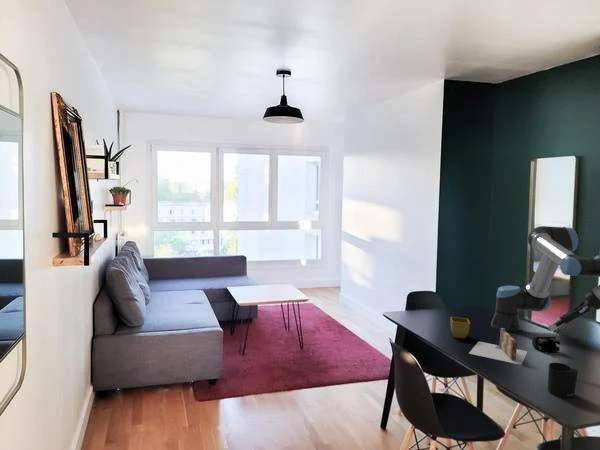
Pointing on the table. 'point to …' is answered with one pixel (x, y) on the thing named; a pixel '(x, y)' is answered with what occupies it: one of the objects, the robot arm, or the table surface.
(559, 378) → the pen holder
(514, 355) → the gate
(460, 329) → the flower pot
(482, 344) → the base
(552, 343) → the end cap
